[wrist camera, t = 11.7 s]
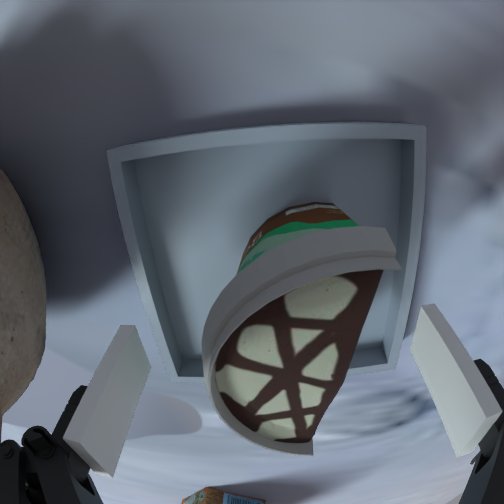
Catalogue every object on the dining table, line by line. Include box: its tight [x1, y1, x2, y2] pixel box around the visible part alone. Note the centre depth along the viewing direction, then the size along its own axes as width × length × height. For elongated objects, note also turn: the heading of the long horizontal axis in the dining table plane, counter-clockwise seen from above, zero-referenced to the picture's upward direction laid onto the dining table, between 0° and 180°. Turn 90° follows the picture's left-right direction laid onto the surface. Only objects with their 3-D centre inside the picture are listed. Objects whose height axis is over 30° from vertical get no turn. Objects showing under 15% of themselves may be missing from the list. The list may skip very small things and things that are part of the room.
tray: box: [106, 122, 427, 384], centre depth 20 cm, size 18×18×2 cm
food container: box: [201, 202, 401, 456], centre depth 16 cm, size 12×6×10 cm, turn 173°
